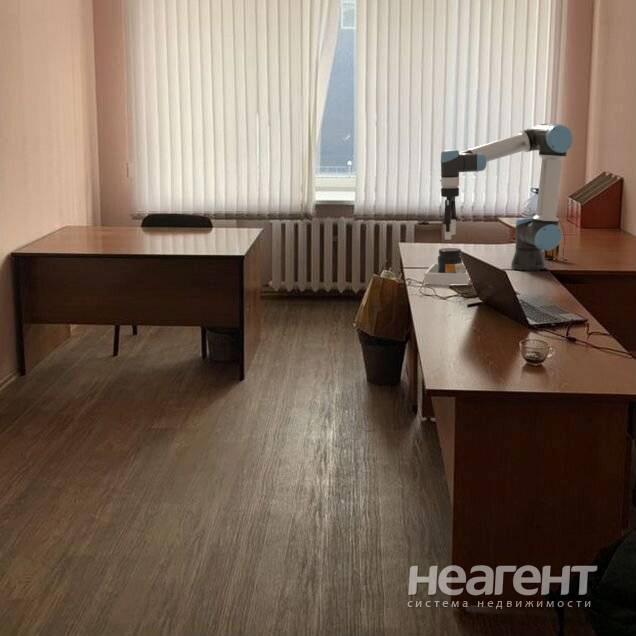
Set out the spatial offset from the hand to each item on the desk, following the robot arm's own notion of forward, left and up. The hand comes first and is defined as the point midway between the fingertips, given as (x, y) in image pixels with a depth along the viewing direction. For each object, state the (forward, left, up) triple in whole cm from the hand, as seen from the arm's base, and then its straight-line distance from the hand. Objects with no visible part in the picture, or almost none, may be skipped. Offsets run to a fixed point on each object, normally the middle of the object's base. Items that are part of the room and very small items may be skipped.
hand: (450, 237), depth 431 cm
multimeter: (-62, +42, -19) cm, 77 cm away
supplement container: (0, 0, -18) cm, 18 cm away
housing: (0, 0, -19) cm, 19 cm away
